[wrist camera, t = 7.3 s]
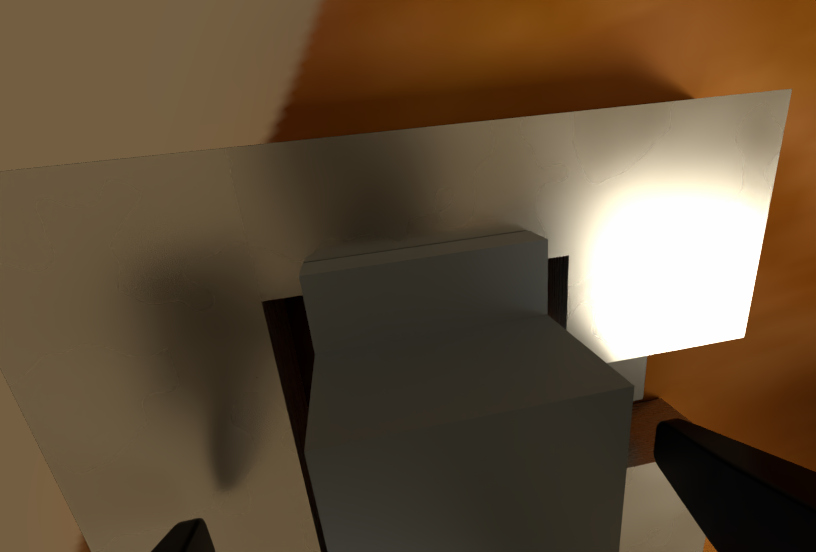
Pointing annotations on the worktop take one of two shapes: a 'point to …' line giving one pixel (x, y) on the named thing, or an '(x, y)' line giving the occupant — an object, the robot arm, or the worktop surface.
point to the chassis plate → (342, 237)
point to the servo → (460, 405)
